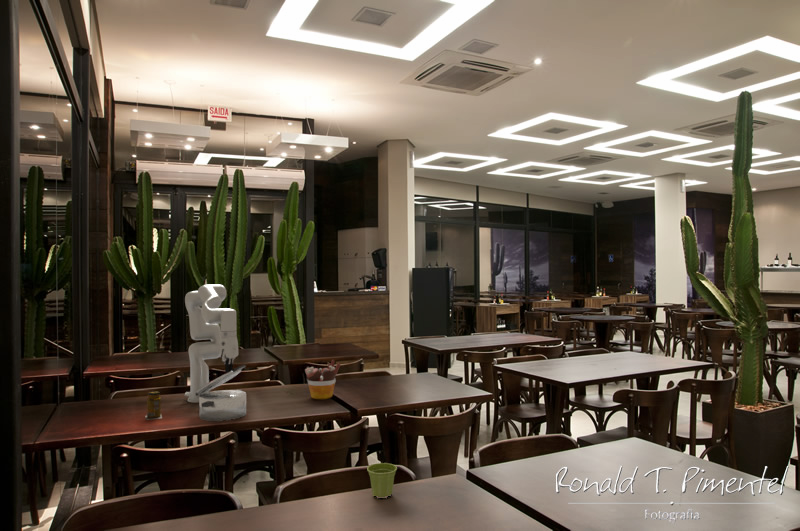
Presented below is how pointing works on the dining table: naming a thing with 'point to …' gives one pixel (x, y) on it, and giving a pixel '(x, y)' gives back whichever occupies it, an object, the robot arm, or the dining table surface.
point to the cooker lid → (220, 380)
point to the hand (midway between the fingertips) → (229, 371)
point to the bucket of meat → (322, 381)
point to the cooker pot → (222, 405)
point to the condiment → (153, 406)
